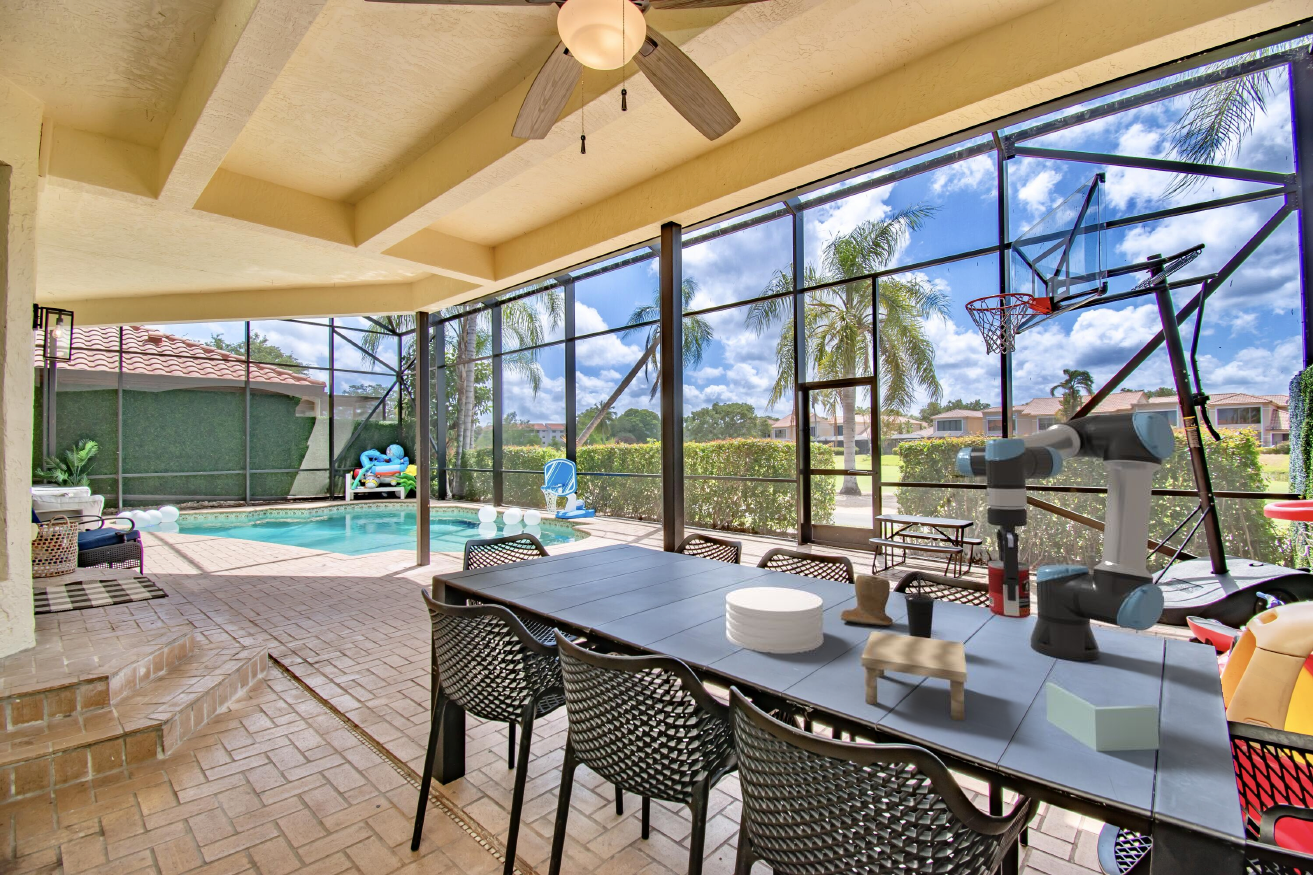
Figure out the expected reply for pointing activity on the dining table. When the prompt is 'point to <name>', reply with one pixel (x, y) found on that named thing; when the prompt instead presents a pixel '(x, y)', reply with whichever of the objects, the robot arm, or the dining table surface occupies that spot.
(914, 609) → the drinking cup
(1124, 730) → the right angle wall
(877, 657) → the footstool
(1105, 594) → the robot arm
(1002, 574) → the canned food
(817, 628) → the plate stack
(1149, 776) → the dining table surface
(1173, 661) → the dining table surface
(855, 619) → the brown suede boots
